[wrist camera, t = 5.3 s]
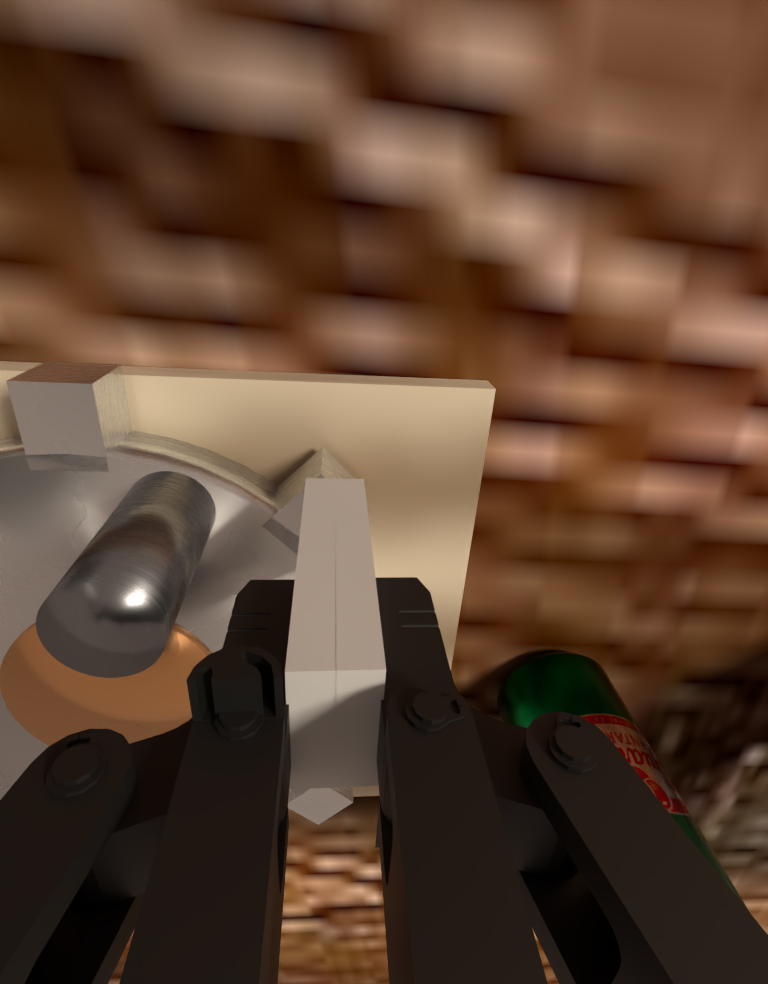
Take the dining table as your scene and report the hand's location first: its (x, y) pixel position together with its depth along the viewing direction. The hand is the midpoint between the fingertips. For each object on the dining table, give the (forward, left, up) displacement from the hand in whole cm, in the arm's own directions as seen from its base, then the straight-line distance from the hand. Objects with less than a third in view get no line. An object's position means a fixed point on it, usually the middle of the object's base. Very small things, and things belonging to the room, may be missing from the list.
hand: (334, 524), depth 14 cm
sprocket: (+7, -7, -3) cm, 11 cm away
